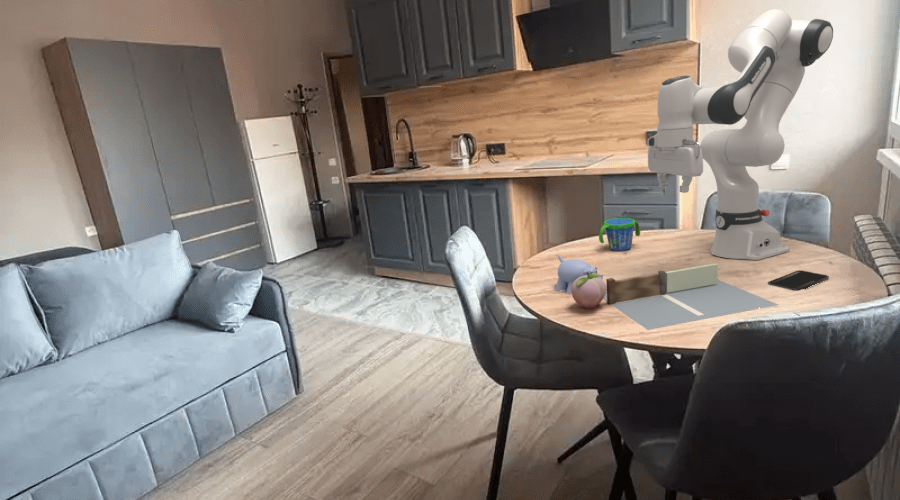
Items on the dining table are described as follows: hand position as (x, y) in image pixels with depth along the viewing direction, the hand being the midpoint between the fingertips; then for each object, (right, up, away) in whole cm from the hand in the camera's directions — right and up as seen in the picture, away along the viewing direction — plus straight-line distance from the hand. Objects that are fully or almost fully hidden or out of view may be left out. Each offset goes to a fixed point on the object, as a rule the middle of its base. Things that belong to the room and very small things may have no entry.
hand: (673, 190), depth 138 cm
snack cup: (-1, -16, +41) cm, 44 cm away
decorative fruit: (-26, -32, -8) cm, 42 cm away
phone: (+30, -26, -6) cm, 40 cm away
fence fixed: (-12, -29, -6) cm, 32 cm away
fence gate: (+3, -27, -4) cm, 27 cm away
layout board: (-2, -30, -9) cm, 31 cm away
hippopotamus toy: (-25, -28, +6) cm, 38 cm away
